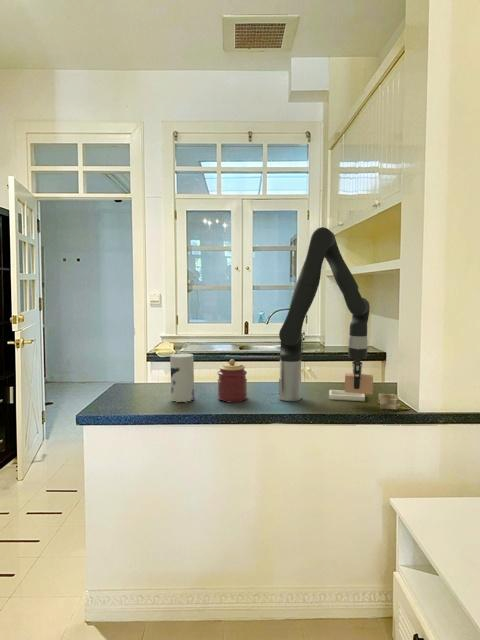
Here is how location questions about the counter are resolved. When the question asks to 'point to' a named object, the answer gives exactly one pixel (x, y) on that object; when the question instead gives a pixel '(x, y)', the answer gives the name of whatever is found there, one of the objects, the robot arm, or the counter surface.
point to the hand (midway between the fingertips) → (356, 386)
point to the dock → (388, 401)
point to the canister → (232, 382)
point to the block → (365, 384)
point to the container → (182, 377)
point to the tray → (345, 395)
